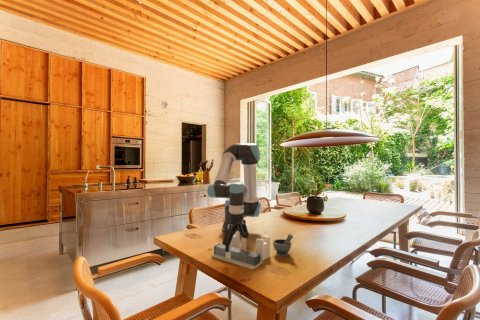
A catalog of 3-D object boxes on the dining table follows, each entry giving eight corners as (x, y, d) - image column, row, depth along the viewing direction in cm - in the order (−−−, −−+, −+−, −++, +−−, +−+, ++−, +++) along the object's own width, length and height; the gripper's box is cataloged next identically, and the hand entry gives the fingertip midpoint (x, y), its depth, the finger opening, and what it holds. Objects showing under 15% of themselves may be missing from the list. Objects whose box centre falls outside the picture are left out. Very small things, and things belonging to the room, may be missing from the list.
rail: (213, 253, 130) (214, 245, 130) (219, 251, 134) (219, 243, 134) (255, 266, 116) (255, 256, 116) (260, 262, 120) (260, 253, 120)
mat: (211, 256, 129) (211, 255, 129) (222, 251, 136) (222, 250, 136) (252, 269, 114) (252, 267, 114) (262, 262, 121) (262, 261, 121)
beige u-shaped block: (256, 259, 126) (256, 238, 126) (263, 254, 132) (263, 235, 132) (262, 260, 124) (262, 240, 124) (269, 256, 130) (269, 236, 130)
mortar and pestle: (269, 254, 132) (270, 232, 132) (278, 250, 139) (278, 229, 139) (288, 260, 125) (288, 236, 125) (296, 254, 132) (296, 232, 132)
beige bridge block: (225, 250, 137) (226, 232, 137) (233, 246, 144) (234, 229, 144) (231, 252, 135) (231, 233, 135) (239, 248, 141) (239, 230, 141)
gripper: (227, 218, 113) (227, 263, 113) (255, 209, 133) (254, 248, 133) (215, 216, 117) (214, 260, 117) (243, 208, 138) (243, 245, 137)
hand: (236, 254), depth 125 cm, fingers open, 13 cm apart
